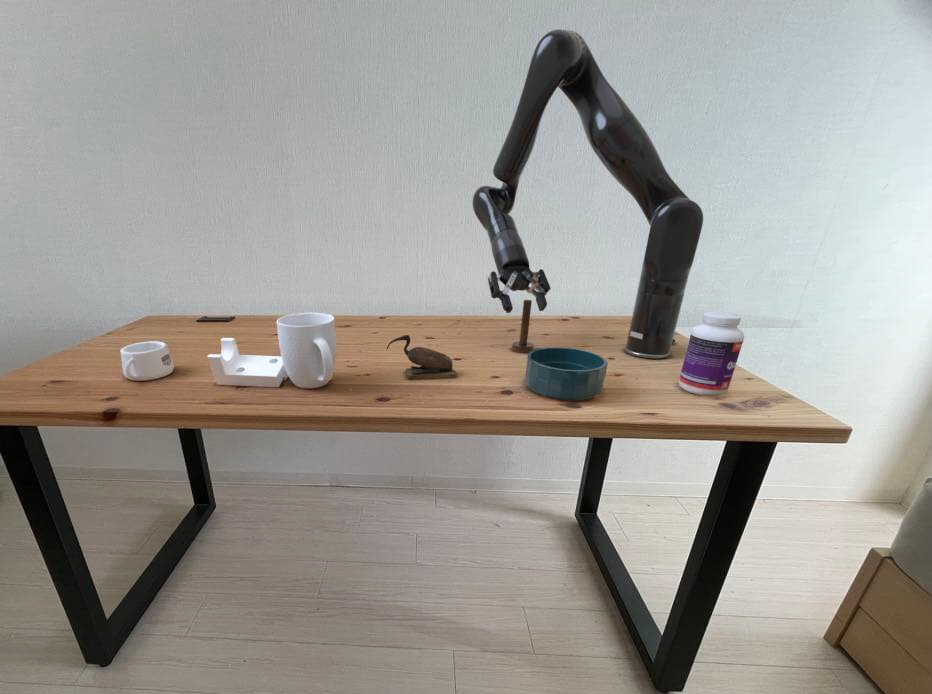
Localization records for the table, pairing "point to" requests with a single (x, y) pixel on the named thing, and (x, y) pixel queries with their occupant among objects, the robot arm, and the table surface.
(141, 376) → the mug
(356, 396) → the table surface
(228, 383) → the bracket
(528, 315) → the brown peg
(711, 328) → the pill bottle
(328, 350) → the mug
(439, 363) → the figurine
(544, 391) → the bowl
